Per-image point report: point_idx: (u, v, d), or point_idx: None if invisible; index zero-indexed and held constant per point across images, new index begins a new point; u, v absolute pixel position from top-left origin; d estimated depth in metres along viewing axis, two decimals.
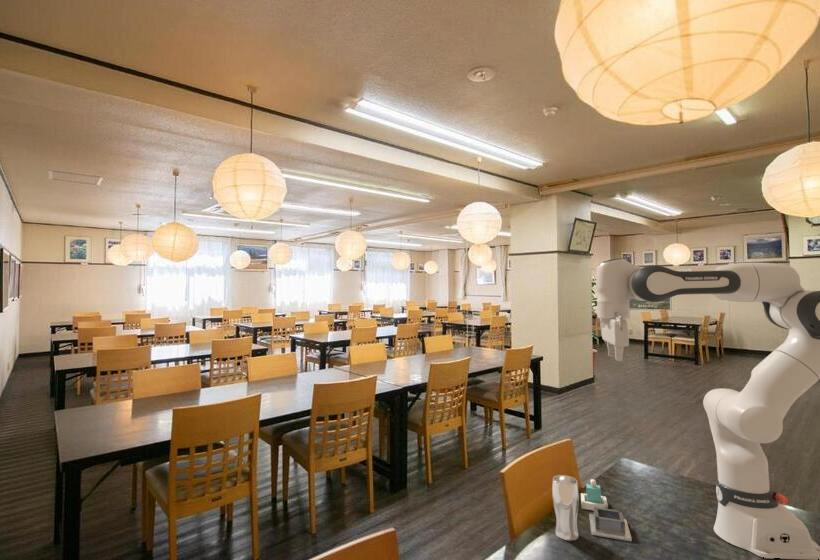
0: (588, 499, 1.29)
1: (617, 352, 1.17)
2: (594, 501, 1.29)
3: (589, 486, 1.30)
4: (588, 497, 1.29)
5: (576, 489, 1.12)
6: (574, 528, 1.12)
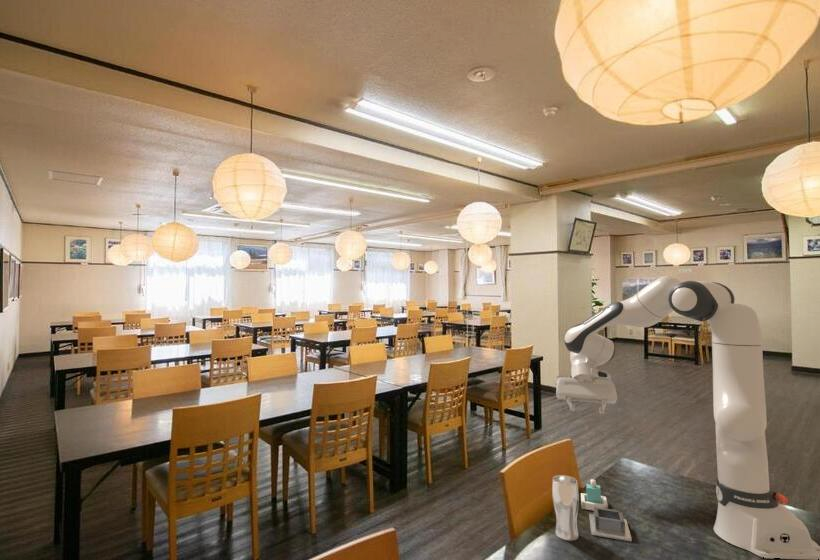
0: (588, 499, 1.29)
1: (568, 403, 1.46)
2: (594, 501, 1.29)
3: (589, 486, 1.30)
4: (588, 497, 1.29)
5: (576, 489, 1.12)
6: (574, 528, 1.12)
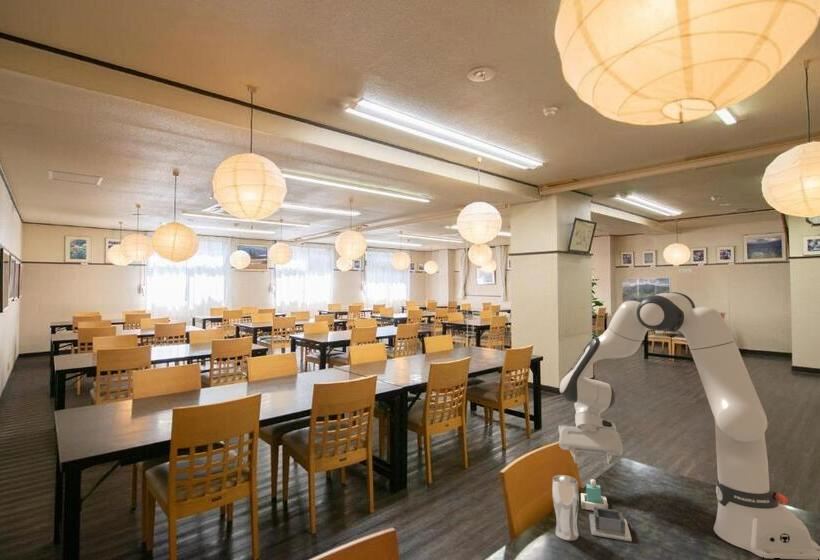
0: (588, 499, 1.29)
1: (571, 454, 1.41)
2: (594, 501, 1.29)
3: (589, 486, 1.30)
4: (588, 497, 1.29)
5: (576, 489, 1.12)
6: (574, 528, 1.12)
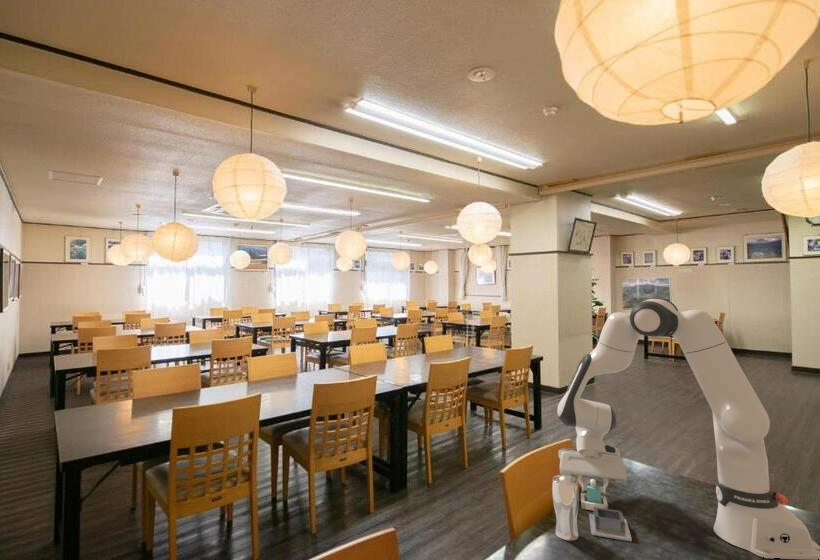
0: (588, 499, 1.29)
1: (579, 483, 1.33)
2: (594, 501, 1.29)
3: (589, 486, 1.30)
4: (588, 497, 1.29)
5: (576, 489, 1.12)
6: (574, 528, 1.12)
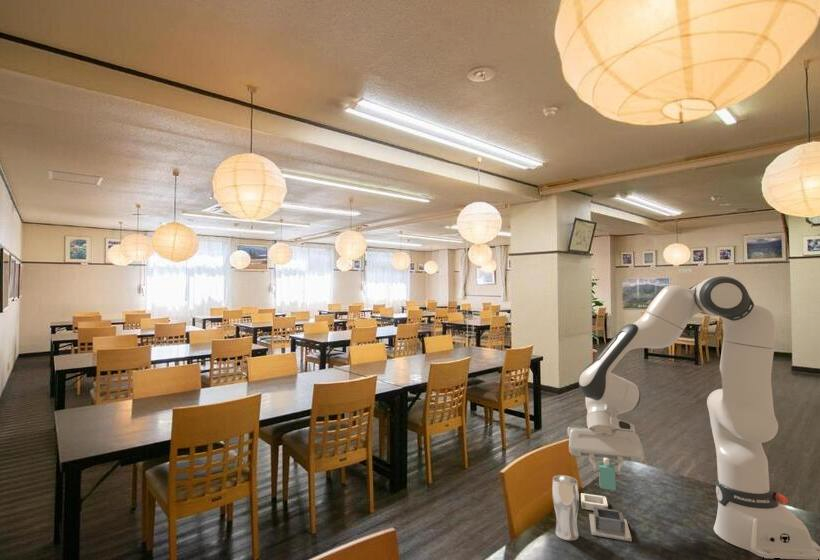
0: (601, 479, 1.17)
1: (591, 462, 1.21)
2: (607, 481, 1.16)
3: (602, 465, 1.18)
4: (601, 477, 1.17)
5: (576, 489, 1.12)
6: (574, 528, 1.12)
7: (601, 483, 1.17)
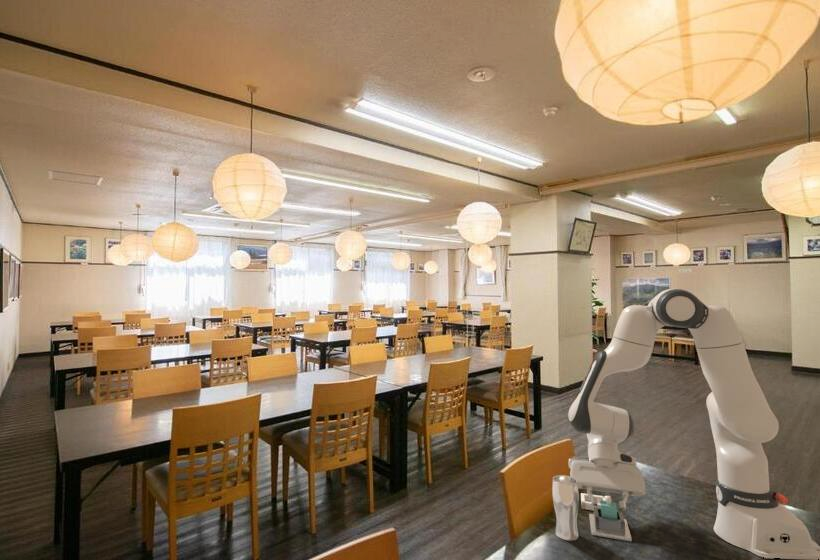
0: None
1: (589, 495, 1.20)
2: None
3: (604, 503, 1.17)
4: (603, 515, 1.16)
5: (576, 489, 1.12)
6: (574, 528, 1.12)
7: None
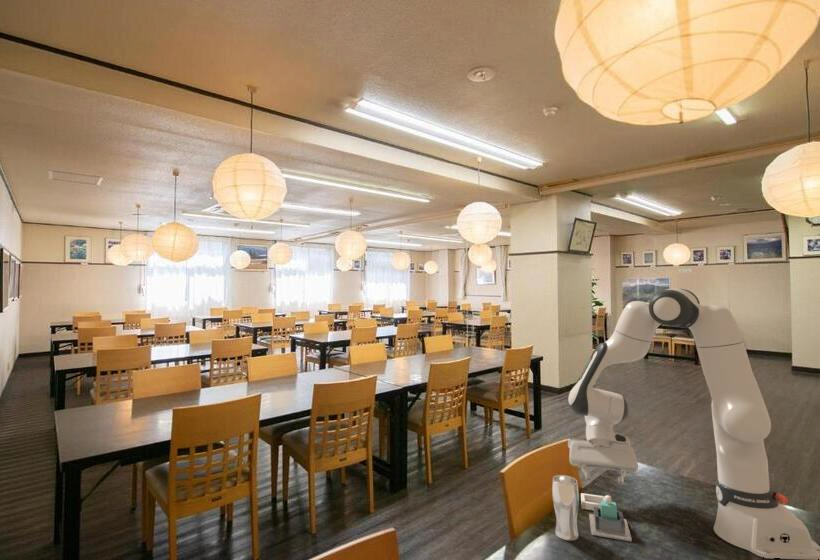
0: None
1: (583, 471, 1.32)
2: None
3: (604, 503, 1.17)
4: (603, 515, 1.16)
5: (576, 489, 1.12)
6: (574, 528, 1.12)
7: None
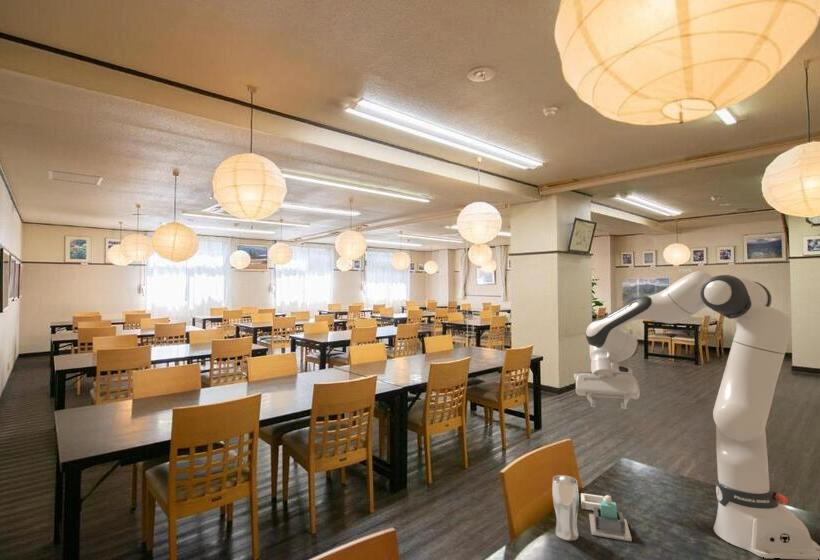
0: None
1: (588, 399, 1.42)
2: None
3: (604, 503, 1.17)
4: (603, 515, 1.16)
5: (576, 489, 1.12)
6: (574, 528, 1.12)
7: None
